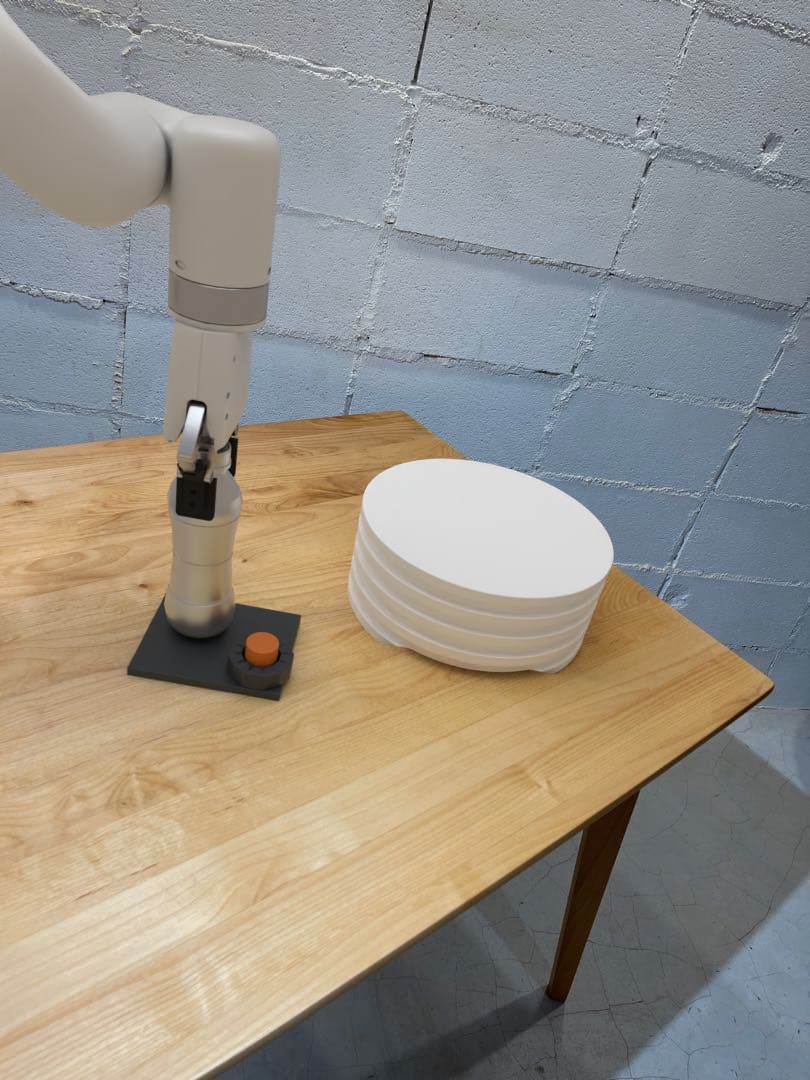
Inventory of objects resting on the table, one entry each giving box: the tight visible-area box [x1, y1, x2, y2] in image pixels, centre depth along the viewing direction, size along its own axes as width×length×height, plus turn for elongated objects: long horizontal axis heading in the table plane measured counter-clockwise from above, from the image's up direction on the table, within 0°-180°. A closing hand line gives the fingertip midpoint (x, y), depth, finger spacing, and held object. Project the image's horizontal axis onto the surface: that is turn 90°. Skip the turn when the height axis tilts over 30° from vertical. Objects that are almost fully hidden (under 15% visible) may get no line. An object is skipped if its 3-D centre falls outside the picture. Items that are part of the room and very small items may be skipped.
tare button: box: [245, 632, 279, 667], centre depth 76 cm, size 3×3×2 cm
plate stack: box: [346, 458, 615, 675], centre depth 92 cm, size 28×28×12 cm
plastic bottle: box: [164, 435, 244, 638], centre depth 75 cm, size 6×7×20 cm
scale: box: [126, 593, 302, 702], centre depth 79 cm, size 14×12×4 cm
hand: (206, 493), depth 72 cm, fingers open, 7 cm apart
